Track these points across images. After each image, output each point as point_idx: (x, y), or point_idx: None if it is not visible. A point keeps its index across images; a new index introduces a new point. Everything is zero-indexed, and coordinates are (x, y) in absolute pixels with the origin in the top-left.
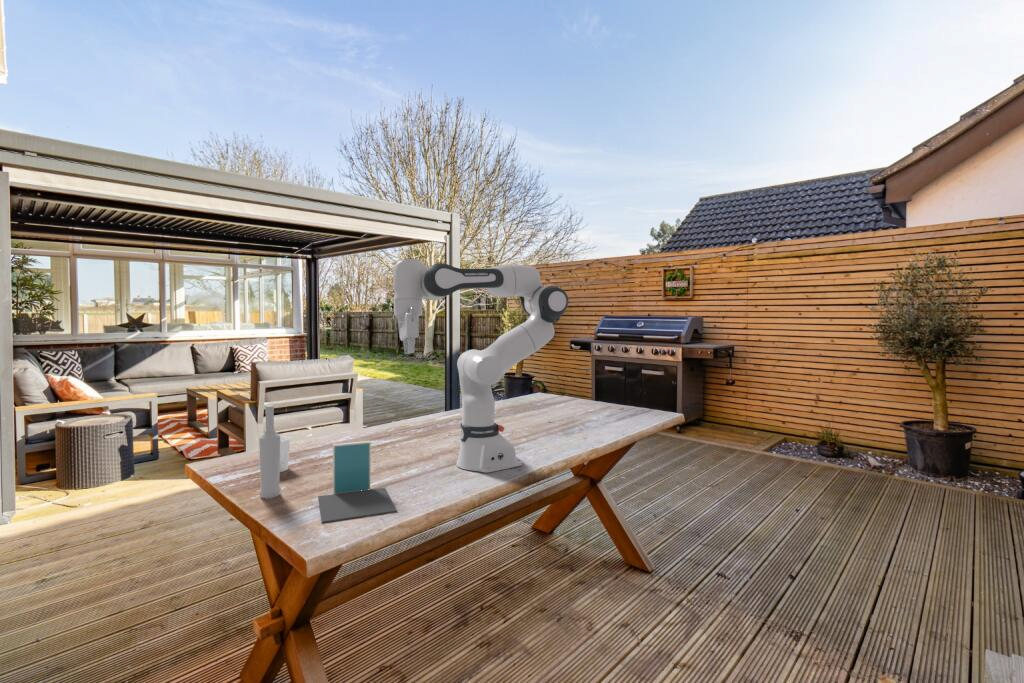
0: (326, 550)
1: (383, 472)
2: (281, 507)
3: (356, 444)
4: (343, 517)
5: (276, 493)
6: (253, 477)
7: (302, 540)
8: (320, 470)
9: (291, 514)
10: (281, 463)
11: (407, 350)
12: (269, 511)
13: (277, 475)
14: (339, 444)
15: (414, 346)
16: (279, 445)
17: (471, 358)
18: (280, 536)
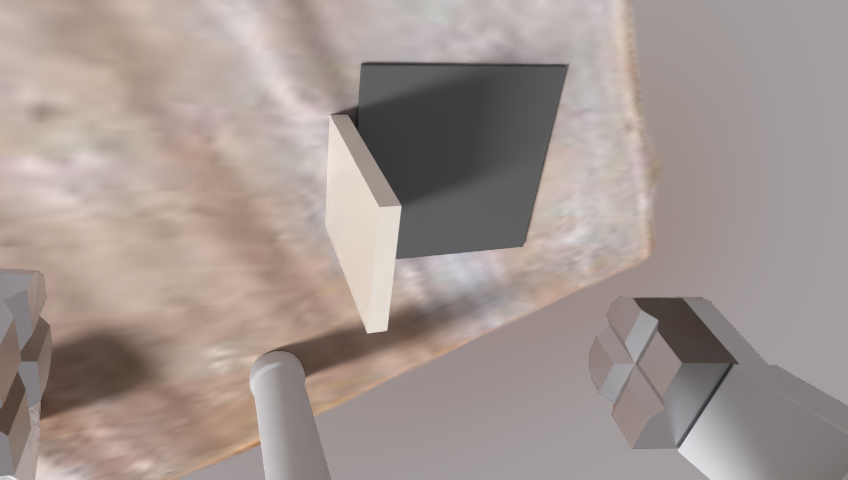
0: (641, 231)
1: (140, 29)
2: None
3: (394, 254)
4: (528, 202)
5: (297, 361)
6: (78, 439)
7: (575, 272)
8: None
9: (434, 306)
10: (29, 409)
11: (15, 385)
12: (391, 349)
13: (301, 397)
14: (384, 313)
15: (795, 376)
16: (312, 471)
17: None
18: (534, 309)
